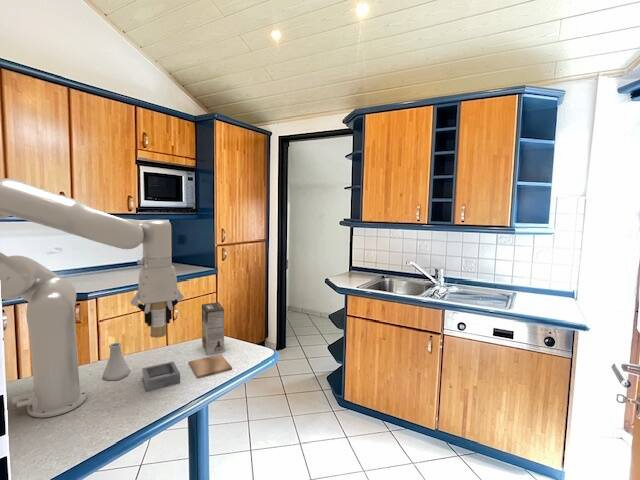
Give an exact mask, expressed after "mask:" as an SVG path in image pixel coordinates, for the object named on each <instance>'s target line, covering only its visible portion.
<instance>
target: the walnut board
mask: <svg viewBox="0 0 640 480" xmlns="http://www.w3.org/2000/svg"><path fill="white" fill-rule="evenodd" d="M187 362H188V363H187V364H188V365H189V366H188V367H190V369H191V371H192V373H193V375H194V376H195V377H196V379H197V378H198V379H201V377H202V378H206V377H209V376H213V375H217V374H220V372H221V373H224V371H225V372H228V371H232V370H233V367H232V366H231V364H230V363H229V362H228V361H227V360H226V358H225V357H224V356H223V355H222V354H220V353H219V354H215V355H211V356H208V357H202V358H199V359H198V358H197V359H195V360H189V361H187ZM205 376H206V377H205Z"/></svg>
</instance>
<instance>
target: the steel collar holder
mask: <svg viewBox="0 0 640 480" xmlns="http://www.w3.org/2000/svg"><path fill="white" fill-rule="evenodd" d="M141 369H142V370H141V371H142V374H141V375H142V376H141V377H142V380H143V383H144V387H145V391H146V392H151V391H155V390H158V389H159V390H160V389H161V388H165V387H169V386H173V385H174V386H175V385H178V384H181V373H180V371H179V369H178V367H177V365H176V363H175V361H168V362H163V363H159V364H156V365H151V366H147V367H142V368H141ZM169 373H170V374H169ZM157 376H158V377H157Z"/></svg>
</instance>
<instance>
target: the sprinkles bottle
mask: <svg viewBox="0 0 640 480" xmlns="http://www.w3.org/2000/svg"><path fill="white" fill-rule="evenodd" d="M166 307H167V304H166V302H160V303H152V304H151V305H150V309H149V310H150V313H151V326H149V327H150V334H149V336H150V338H155V339H159V338H163V337H165V336H166V335H168V334H167V322H166Z"/></svg>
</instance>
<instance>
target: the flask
mask: <svg viewBox="0 0 640 480" xmlns="http://www.w3.org/2000/svg"><path fill="white" fill-rule="evenodd" d="M121 346H122V342H112V343H110V344H109V345H108V348H109V356H108V361H107V364H106V367H105V369H104V371H103V375H102V377H101V378H102V379H103V380H106V381H108V382H109V381H119V380H121V379H123V378H126V377H128V376H129V374H130V372H131V369H130V367H129V365H128V363H127V362H126V360H125V358H124V356H123V353H122V348H121Z"/></svg>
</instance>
